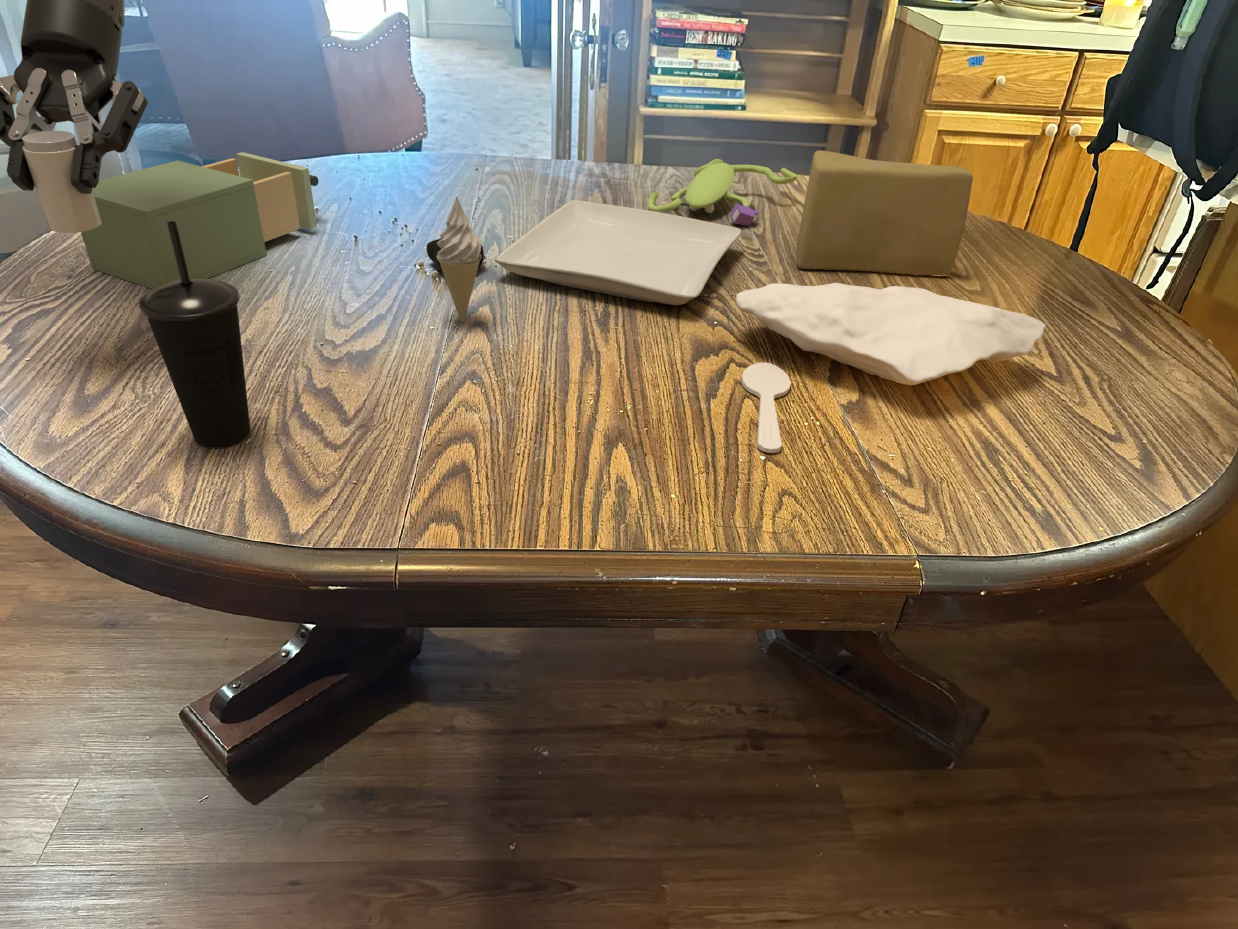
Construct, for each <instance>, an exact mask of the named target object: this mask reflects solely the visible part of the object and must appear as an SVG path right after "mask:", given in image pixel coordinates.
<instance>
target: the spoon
mask: <svg viewBox="0 0 1238 929" xmlns="http://www.w3.org/2000/svg"><path fill="white" fill-rule="evenodd" d="M740 378H741V379H740V380H741V381H740V383H741V385H742V387H743V388H744V390H746V391H747V392H748V393H751V394H753V395H754V396H757V397H758V398H759V406H758V419H757V420H758V421H757V434H756V436H757V437H756V447H757V449H759V450H760V451H761V452H764V453H767V454H775V453H779V452H780V451H781V450H782V447H783V444H782V442H783V441H782V439H781V433H780V425H779V419H778V414H777V410H776V408H777V407H776V404H775V399H776V398H781V397H784V396H785V395H786V394H788V393H789V392H790V390H791V385H792V383H791V379H790V378H791V377H790V376H789V375H788V373H786V372H785V370H784V369H782V368H781V367H779V366H778V365H777V364H776V365H775V364H773V363H771V362H763V361H760V362H759V361H758V362H754V363H752V364H750V365H748V366H746V367H745V369H744V371H743V372H742V374H741V376H740Z"/></svg>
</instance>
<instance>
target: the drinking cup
mask: <svg viewBox="0 0 1238 929" xmlns="http://www.w3.org/2000/svg"><path fill="white" fill-rule="evenodd" d="M167 225H168V229H169V234H170V238H171V242H172V246H173V250H174V254H175V258H176V262H177V266H178V270H179V274H180V278H181V279H179V280H175V281H171V282H168V283H166V284H163V285H161V286H159V287H157V288H154V289H150V290H148V291H147V292H145V293H144V294H143V295H142V296H141V297H140V299H139V301H138V307H139V309H140V312H141V313H142V314H143V315H144V316H145V317H146V319H147V321H148V323H149V326H150V328H151V332H152V334H153V336H154V340H155V341H156V345H157V347H158V349H159V352H160V355H161V357H162V360H163V363H164V365H165V368H166V370H167V373H168V375H169V377H170V380H171V383H172V386H173V388H174V390H175V393H176V397H177V399H178V400H179V403H180V407H181V408H182V411H183V415H184V417H185V419H186V421H187V425H188V426H189V429H190V432H191V434H192V437H193V440H194V442H195V443H196V444H198V445H199V446H201V447H203V448H207V449H223V448H229V447H233V446H235V445H238V444H240V443H242V442H243V441H245V440H246V439H247V438H248V437H249V435H250V434H251V423H250V422H251V421H250V413H249V403H248V395H247V385H246V376H245V366H244V365H245V364H244V357H243V347H242V338H241V326H240V319H239V318H240V317H239V311H238V310H239V309H238V304H239V303H240V293H239V290H238V288H236V287H235V286H234V285H232V284H231V283H228V282H225V281H222V280H216V279H210V278H208V279H203V278H189V274H188V269H187V265H186V261H185V257H184V253H183V248H182V244H181V240H180V236H179V232H178V227H177V223H176V222H174V221H171V222H167Z"/></svg>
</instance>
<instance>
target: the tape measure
mask: <svg viewBox="0 0 1238 929" xmlns="http://www.w3.org/2000/svg"><path fill="white" fill-rule="evenodd" d="M440 240H442V238H441V237H440V238H437V239H433V240H430V241H429V242H428V243H426V255H427V257H428V258H429V259H430V260H431V262H432V263H434V264H435V265H436V266H437V267H438V268H439V269H440V272H442V273H443V270H442V267H441V265H440V262H439V260H438V259H437V255H438V252H439V251H440V250H442V249H441V248H440V247H439V246H438V245H437V242H438V241H440ZM484 252H485V251H484V246H483V245H482V244H481V252H480V254H481V256H482V258H481V260H480V261H479V265H478V269H480V268H481V267H482V266H483V263H484V260H485V256H484Z"/></svg>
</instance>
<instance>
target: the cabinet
mask: <svg viewBox="0 0 1238 929" xmlns="http://www.w3.org/2000/svg"><path fill="white" fill-rule="evenodd" d="M92 189H93V193H94V196H95V200H96V203H97V207H98V210H99V213H100V217H101V220H102V224H101V225H100V226H98V227H97V228H94V229H91V230H88V231H83V232H80V233H81V237H82V240H83V243H84V247H85V250H86V253H87V256H88V260H89V263H90V266H91V269H92V270H94V271H97V272H101V273H102V274H107V275H110V276H113V277H116V278H118V279H121V280H125V281H127V282H130V283H133V284H135V285H139V286H142V287H146V288H148V289H150V290H152V289H154V288H157V287H159V286H161V285H163V284H166V283H168V282H171V281H175V280H179V279H181V278H180V274H179V270H178V266H177V262H176V258H175V254H174V250H173V246H172V242H171V238H170V234H169V229H168V225H167V222H171V221H174V222H176V223H177V227H178V232H179V236H180V240H181V244H182V248H183V253H184V257H185V261H186V265H187V269H188V274H189V278H203V279H210V278H213V277H216V276H218V275H220V274H223V273H227V272H228V271H231V270H233V269H237V268H238V267H241V266H243V265H246V264H249V263H252V262H253V261H256V260H259V259H261V258H264V257H266V256H267V249H266V244H265V242H264V238H263V233H262V227H261V222H260V216H259V211H258V205H257V200H256V195H255V189H254V183H253V180H252V179H248V178H244V177H240V175H239V176H236V175H232V174H228V173H224V172H221V171H217V170H213V169H209V168H205V167H202V166H201V165H196V164H193V163H188V162H186V161H182V160H174V161H170V162H166V163H163V164H158V165H154V166H151V167H147V168H143V169H142V168H141V169H139V170H135V171H132V172H127V173H124V174H123V173H122V174H120V175H116V176H115V175H114V176H112V177H108V178H104V179H99V182H98V184H97V186H96V188H92Z"/></svg>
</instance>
